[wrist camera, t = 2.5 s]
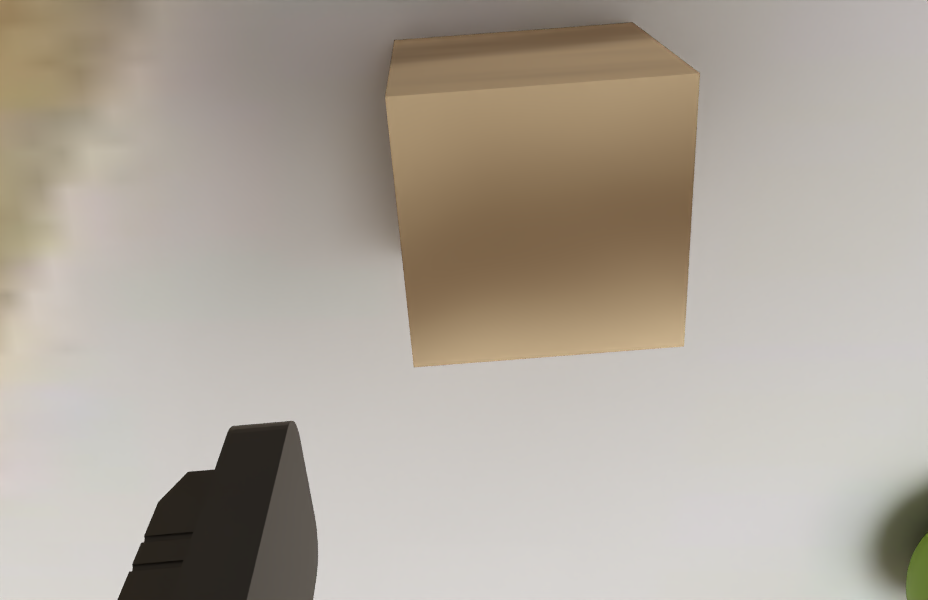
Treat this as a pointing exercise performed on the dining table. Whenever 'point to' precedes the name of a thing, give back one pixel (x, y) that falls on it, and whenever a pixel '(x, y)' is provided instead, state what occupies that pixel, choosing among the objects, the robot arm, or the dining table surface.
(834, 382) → the dining table surface
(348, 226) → the dining table surface
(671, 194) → the oak cube
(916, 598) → the snail figurine
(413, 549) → the dining table surface
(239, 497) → the robot arm
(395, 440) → the dining table surface
